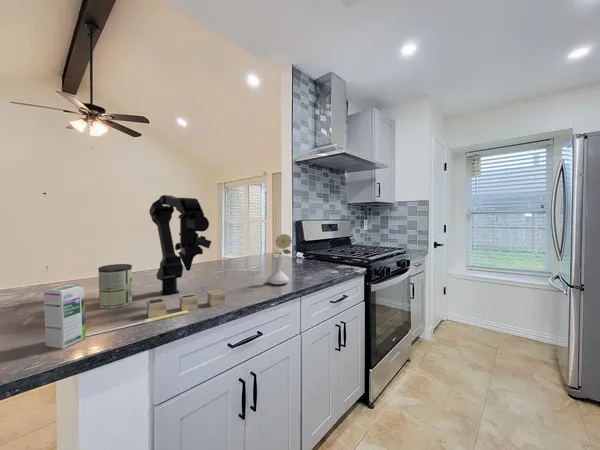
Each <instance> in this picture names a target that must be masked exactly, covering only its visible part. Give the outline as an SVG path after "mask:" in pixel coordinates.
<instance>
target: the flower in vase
mask: <svg viewBox="0 0 600 450" xmlns="http://www.w3.org/2000/svg"><path fill="white" fill-rule="evenodd" d="M274 241H275V242H274V243H275V245H276V247H277V248H279V249H282V251H281V252H279V251H278V250H275V249H274V251H275V252H277V253H279V254H278V255H277V254H276V255H275V254H274V255H273V258H274V259H275V270H274V272H272V273H271V274H270V275H269V276H268V277H267V278H266V282H267V283H269V284H271V285H284V284H287V283H289V282H290V277H288V275H286V274H285V273H284V272H283V271H282V269H281V268H282V267H281V265H282V264H281V263H282V259H283V258H284V255H282V253H283V254H285V255H287V254H291V253H292V252H291V250H289V249H288V248H289V247H291V244H292V242H293V239H292V238H291V236H290V235H288V234H285V233H282V234H280V235H277V237H276V238H275V240H274Z"/></svg>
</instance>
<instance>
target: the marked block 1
mask: <svg viewBox="0 0 600 450" xmlns="http://www.w3.org/2000/svg"><path fill="white" fill-rule="evenodd" d="M146 315H147V317H148V319H151V318H155V317H159V316H164V315H167V301H166V300H165V298H156V299H149V300H146Z"/></svg>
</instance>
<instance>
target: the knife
mask: <svg viewBox="0 0 600 450" xmlns="http://www.w3.org/2000/svg"><path fill="white" fill-rule="evenodd" d="M189 312H190V311H187V310H185V311H181V310H180V311H178V312H174V313H173V312H172V313H168V314H166V315H163V316H158V317H153V318H148V319H144V321H143V320H142V321H139V322H136V323H135V322H134V323H131V324H127V325H122V326H118V327H114V328H113V327H112V328H109V329H106V330H101V331H97V332H93V333H90V334H86V337H89V336H94V335H99V334H102V333H103V334H104V333H107V332H111V331H115V330H121V329H124V328H129V327H132V326H136V325H143V324H148V323H152V322H156V321H157V322H158V321H160V320H161V321H162V320H165V319H169V318H174V317H178V316H182V315H185V314H189Z"/></svg>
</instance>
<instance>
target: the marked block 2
mask: <svg viewBox="0 0 600 450" xmlns="http://www.w3.org/2000/svg"><path fill="white" fill-rule="evenodd" d="M179 309H180V312H181V311H185V310H187V311H189V312H190V311H195V310H196V311H197V310H198V296H197V295H196V294H195V293H188V294H183V295H182V294H181V295H179Z"/></svg>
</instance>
